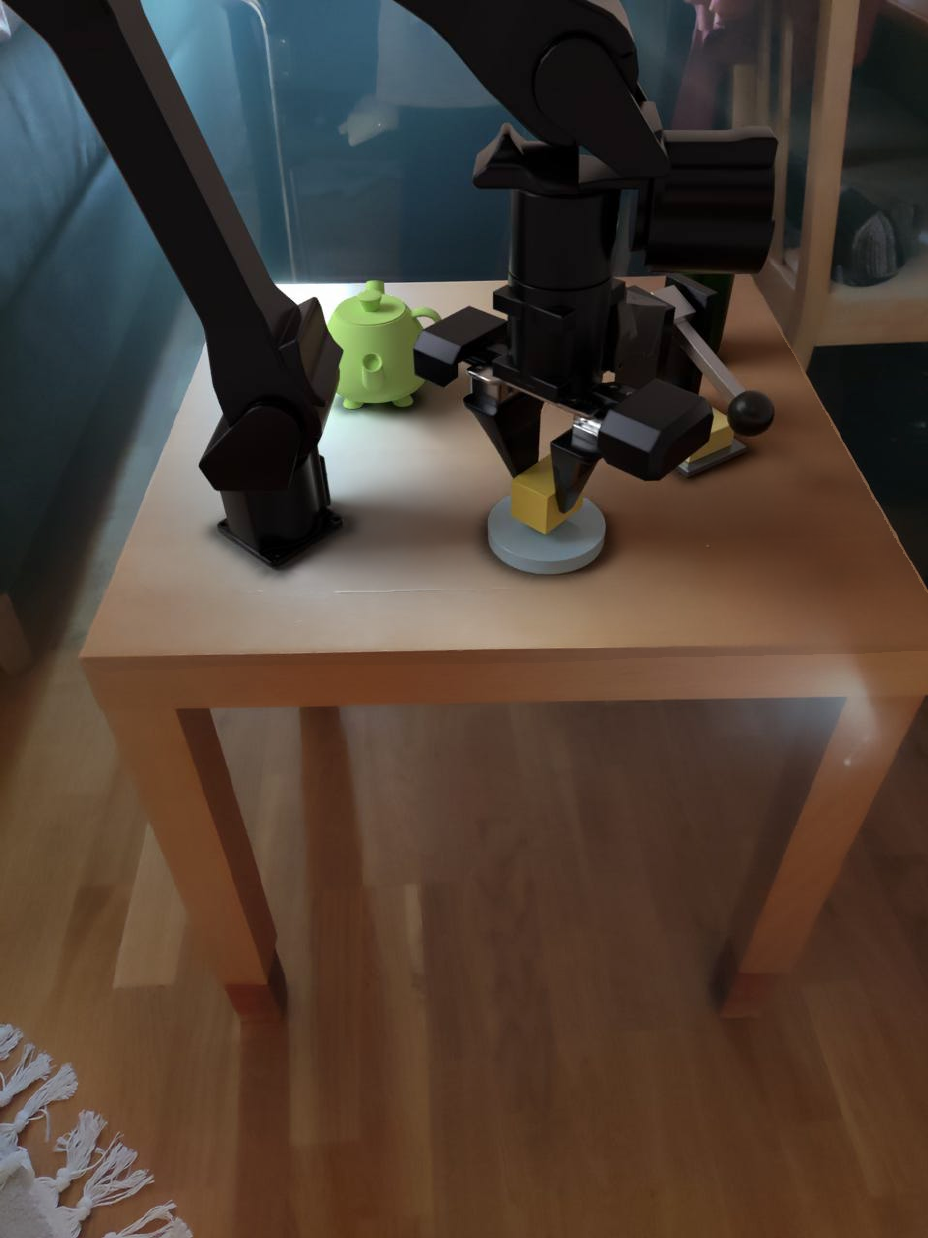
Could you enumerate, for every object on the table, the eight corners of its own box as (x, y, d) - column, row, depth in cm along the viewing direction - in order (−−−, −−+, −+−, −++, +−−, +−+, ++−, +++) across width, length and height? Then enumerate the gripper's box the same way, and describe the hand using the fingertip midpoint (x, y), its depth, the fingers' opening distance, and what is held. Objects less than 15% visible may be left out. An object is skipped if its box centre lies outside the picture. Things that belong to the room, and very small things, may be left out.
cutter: (710, 419, 71) (736, 288, 64) (633, 451, 68) (651, 317, 61) (667, 392, 74) (688, 264, 67) (592, 422, 71) (605, 291, 64)
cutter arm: (769, 437, 63) (792, 408, 61) (737, 452, 62) (758, 422, 59) (664, 311, 67) (681, 278, 65) (632, 322, 66) (647, 289, 63)
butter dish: (745, 451, 68) (752, 423, 66) (687, 477, 66) (692, 449, 64) (705, 426, 71) (710, 398, 69) (647, 450, 68) (652, 421, 67)
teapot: (472, 386, 76) (471, 289, 70) (374, 443, 70) (364, 343, 64) (381, 345, 81) (373, 252, 75) (283, 394, 75) (266, 298, 69)
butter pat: (545, 535, 58) (547, 498, 56) (510, 516, 59) (511, 479, 57) (582, 506, 60) (586, 470, 58) (547, 489, 62) (550, 453, 59)
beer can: (695, 373, 76) (721, 231, 68) (645, 352, 79) (664, 213, 71) (731, 352, 79) (760, 212, 71) (681, 332, 82) (704, 196, 73)
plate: (555, 591, 57) (556, 577, 56) (463, 539, 61) (463, 526, 60) (627, 532, 61) (629, 518, 60) (537, 487, 65) (537, 473, 64)
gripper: (790, 266, 48) (733, 500, 59) (522, 188, 57) (517, 403, 68) (676, 342, 42) (637, 586, 53) (399, 241, 51) (414, 467, 62)
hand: (547, 500), depth 59 cm, fingers closed on butter pat, 3 cm apart
